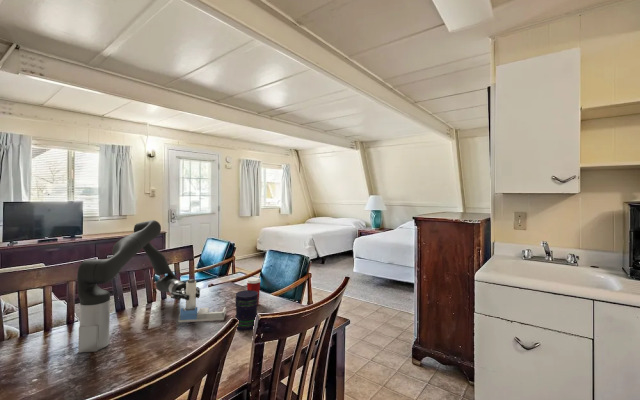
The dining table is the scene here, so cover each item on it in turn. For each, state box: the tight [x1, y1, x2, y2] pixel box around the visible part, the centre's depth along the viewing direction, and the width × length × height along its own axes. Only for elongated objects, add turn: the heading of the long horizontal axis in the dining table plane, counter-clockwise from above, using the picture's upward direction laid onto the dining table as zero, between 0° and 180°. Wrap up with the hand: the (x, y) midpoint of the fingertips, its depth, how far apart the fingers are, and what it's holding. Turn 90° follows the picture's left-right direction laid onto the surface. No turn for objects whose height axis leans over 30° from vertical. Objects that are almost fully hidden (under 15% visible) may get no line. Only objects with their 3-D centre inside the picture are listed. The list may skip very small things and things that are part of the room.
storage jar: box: [235, 290, 259, 332], centre depth 134 cm, size 10×10×15 cm
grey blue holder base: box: [178, 306, 227, 323], centre depth 143 cm, size 8×20×6 cm, turn 101°
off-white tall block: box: [184, 278, 197, 311], centre depth 142 cm, size 5×5×16 cm
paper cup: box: [245, 277, 262, 305], centre depth 162 cm, size 8×8×14 cm
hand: (193, 297), depth 140 cm, fingers closed on off-white tall block, 4 cm apart
